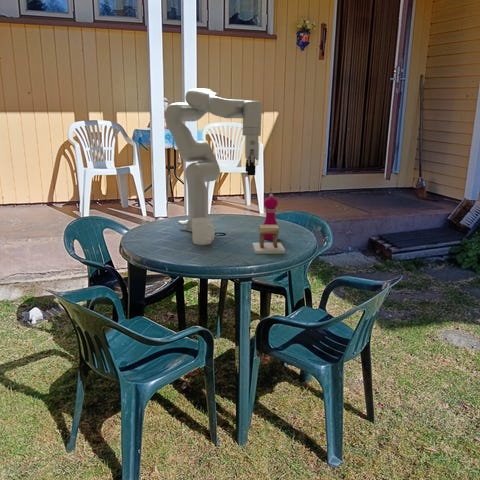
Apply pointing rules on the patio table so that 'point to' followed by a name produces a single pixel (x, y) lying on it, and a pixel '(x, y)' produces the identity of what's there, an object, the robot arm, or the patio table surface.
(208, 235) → the cup
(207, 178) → the robot arm
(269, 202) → the pepper mill
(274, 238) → the pegged wooden block
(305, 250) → the patio table surface
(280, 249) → the tile
